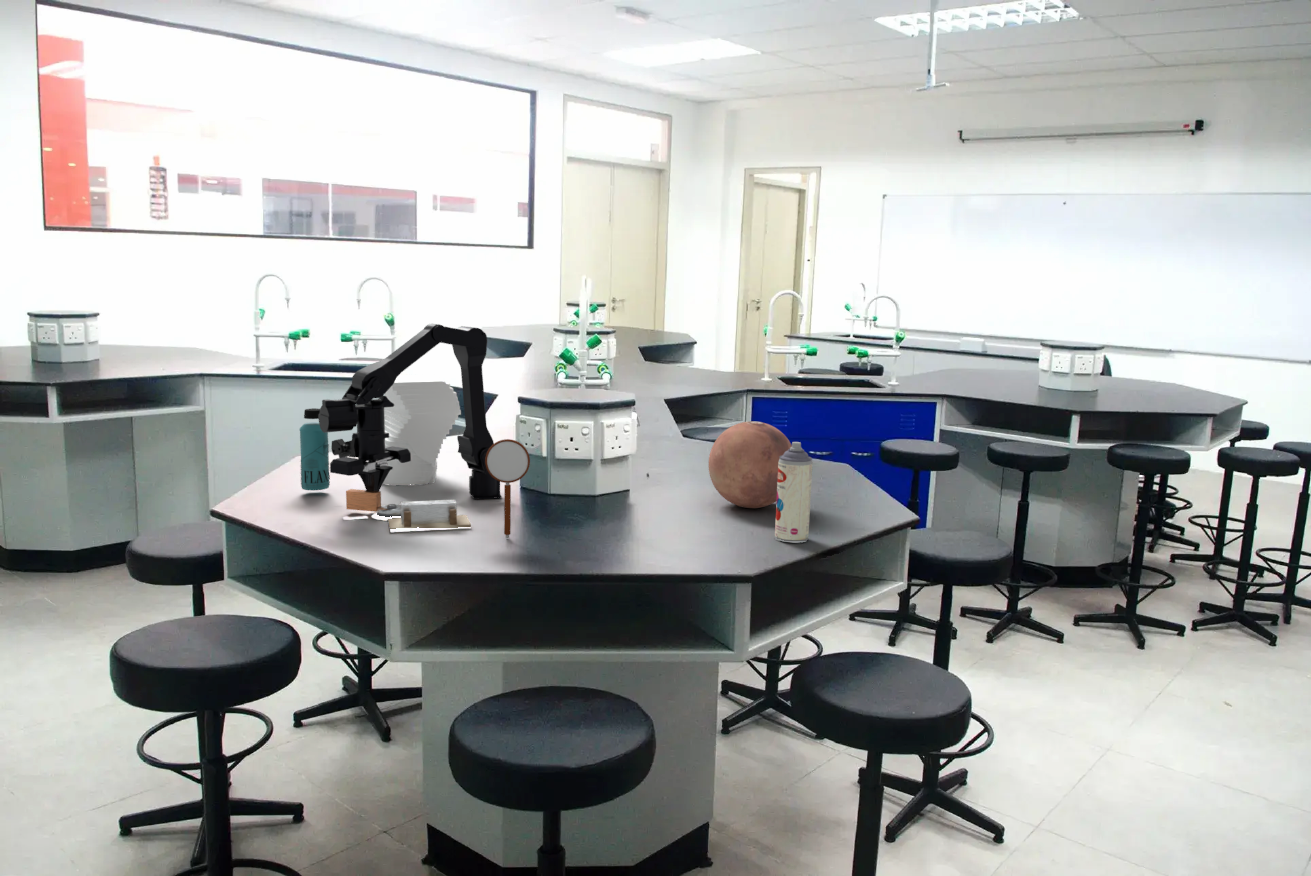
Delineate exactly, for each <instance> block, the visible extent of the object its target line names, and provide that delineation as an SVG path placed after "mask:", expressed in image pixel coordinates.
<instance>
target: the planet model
mask: <svg viewBox="0 0 1311 876" xmlns="http://www.w3.org/2000/svg"><path fill="white" fill-rule="evenodd" d="M790 447H792V443H791V442H790V440H789V439H788V437H787V436H786V434H784V433H783V432H782V431H781V430H780V429H778V428H777V427H775V426H773V425H771V424H769V423H765V422H762V421H754V420H753V421H750V420H749V421H744V422H738V423H736V424H733V425H731V426H730V427H727V428H726V429H725V430H724V431H723V432H722V433H720V434H719V435H718V437H717V438H716V440H714V443H713V445H712V447H711V449H710V453H709V456H708V472H709V478H710V481H711V482H712V485H713V487H714V489H715V490H716V491H717V492H718V494H720V496H721V497H722V498H723V499H724V500H726V501H727V502H729V503H731V504H733V505H735V506H737V507H740V508H746V509H760V508H764V507H768V506H769V505H772V504H774V503H776V501H777V482H778V462H779V459H780V458H779V457H780V456H782V455H784V453H785V452H786V451H788V449H790Z"/></svg>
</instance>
